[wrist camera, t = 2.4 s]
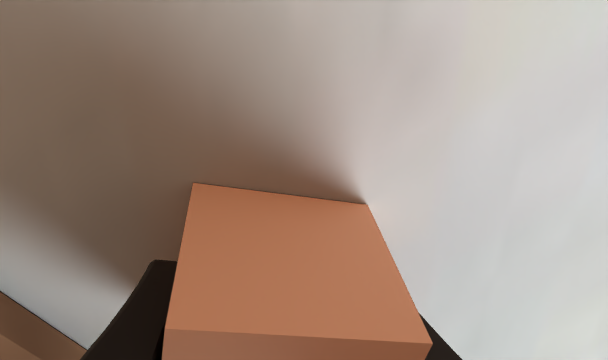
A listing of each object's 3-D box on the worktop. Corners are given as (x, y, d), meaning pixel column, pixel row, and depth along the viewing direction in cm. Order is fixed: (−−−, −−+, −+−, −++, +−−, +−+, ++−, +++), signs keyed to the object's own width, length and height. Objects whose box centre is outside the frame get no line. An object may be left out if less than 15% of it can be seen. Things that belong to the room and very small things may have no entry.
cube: (367, 205, 11) (432, 343, 8) (326, 326, 14) (361, 484, 10) (192, 182, 10) (164, 328, 7) (177, 317, 13) (148, 489, 9)
